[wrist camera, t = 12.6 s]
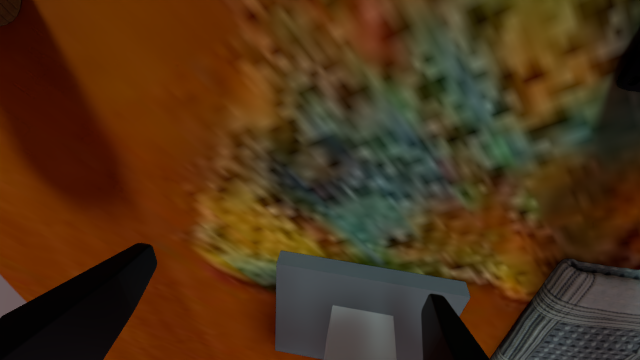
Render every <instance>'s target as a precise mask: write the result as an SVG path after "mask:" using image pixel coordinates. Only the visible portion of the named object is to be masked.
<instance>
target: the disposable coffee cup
mask: <svg viewBox="0 0 640 360" xmlns="http://www.w3.org/2000/svg"><path fill="white" fill-rule="evenodd" d="M20 4H21V0H0V26H2V25H7V24H8V23H10V22H12V21H13V20H14V19H15V18H16V17H17V15H18V12H19V10H20Z"/></svg>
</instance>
